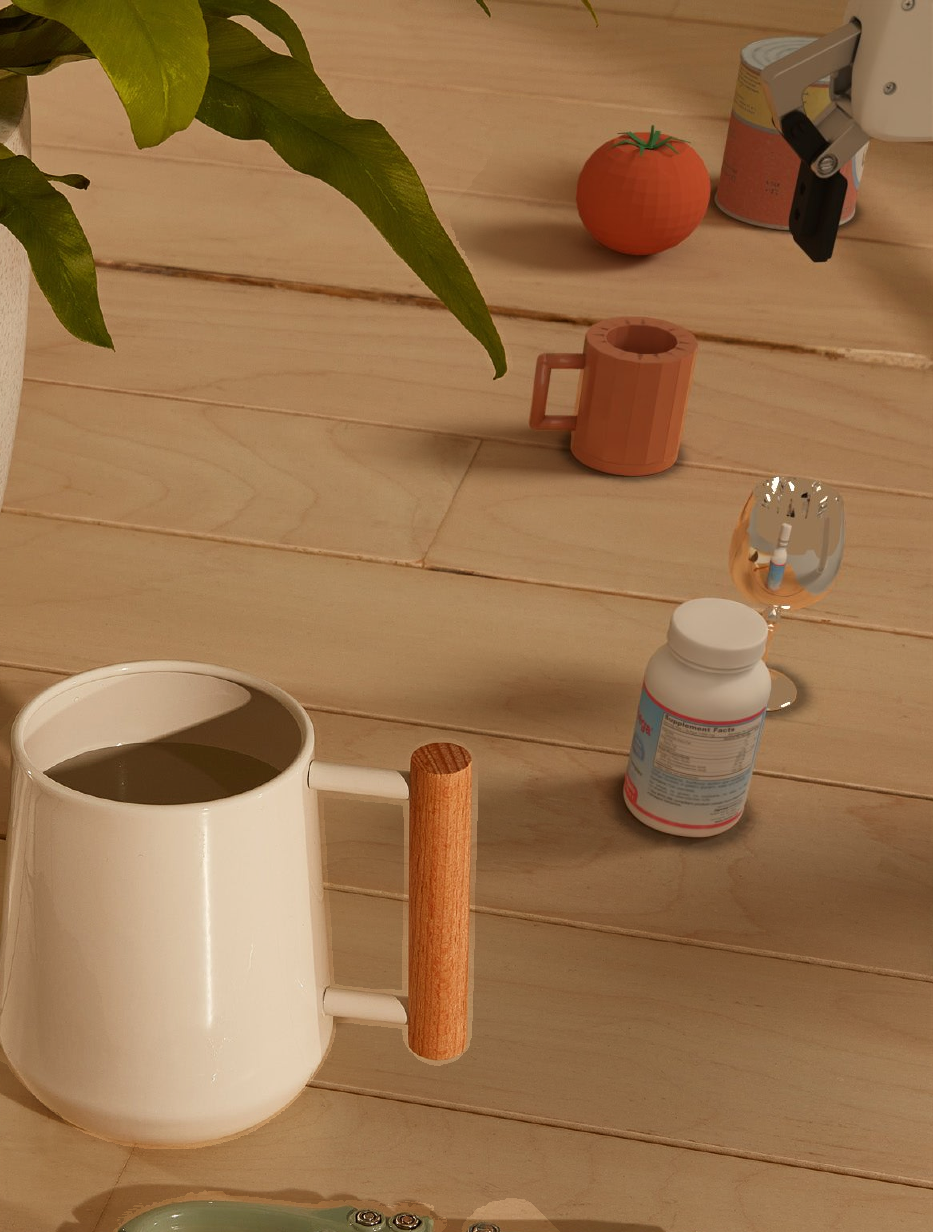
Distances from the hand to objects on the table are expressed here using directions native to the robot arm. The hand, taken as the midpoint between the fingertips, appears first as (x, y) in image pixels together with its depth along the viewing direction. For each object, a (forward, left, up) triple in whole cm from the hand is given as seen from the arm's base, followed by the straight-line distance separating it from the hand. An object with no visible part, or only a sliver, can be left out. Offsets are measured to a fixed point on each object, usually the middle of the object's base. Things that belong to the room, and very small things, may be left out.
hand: (910, 247), depth 95 cm
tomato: (-1, -65, -27) cm, 70 cm away
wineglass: (+2, -3, -27) cm, 27 cm away
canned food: (-15, -75, -27) cm, 81 cm away
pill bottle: (+8, +8, -27) cm, 29 cm away
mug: (+6, -31, -27) cm, 41 cm away
